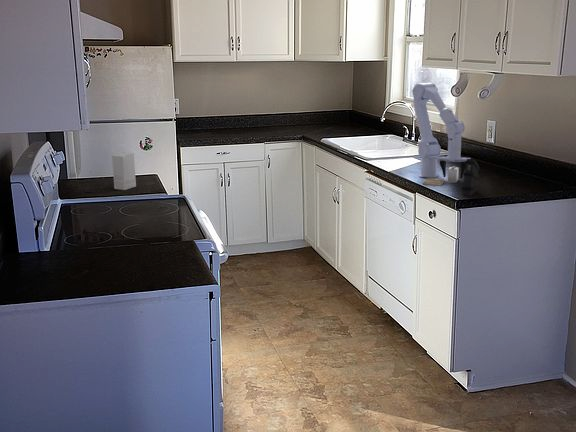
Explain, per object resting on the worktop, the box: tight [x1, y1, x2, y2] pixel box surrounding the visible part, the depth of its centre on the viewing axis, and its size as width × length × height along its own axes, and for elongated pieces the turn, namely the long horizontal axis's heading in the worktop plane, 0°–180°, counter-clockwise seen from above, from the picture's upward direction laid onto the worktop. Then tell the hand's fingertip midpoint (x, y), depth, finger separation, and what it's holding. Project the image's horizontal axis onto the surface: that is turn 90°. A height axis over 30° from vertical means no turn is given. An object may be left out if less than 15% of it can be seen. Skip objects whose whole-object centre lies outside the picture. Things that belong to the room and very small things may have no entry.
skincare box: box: [111, 152, 137, 191], centre depth 297 cm, size 8×7×16 cm
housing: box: [446, 165, 460, 184], centre depth 303 cm, size 6×4×7 cm, turn 158°
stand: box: [422, 177, 445, 187], centre depth 299 cm, size 8×8×2 cm
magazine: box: [461, 158, 481, 197], centre depth 278 cm, size 4×13×15 cm, turn 151°
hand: (452, 177), depth 304 cm, fingers open, 7 cm apart
